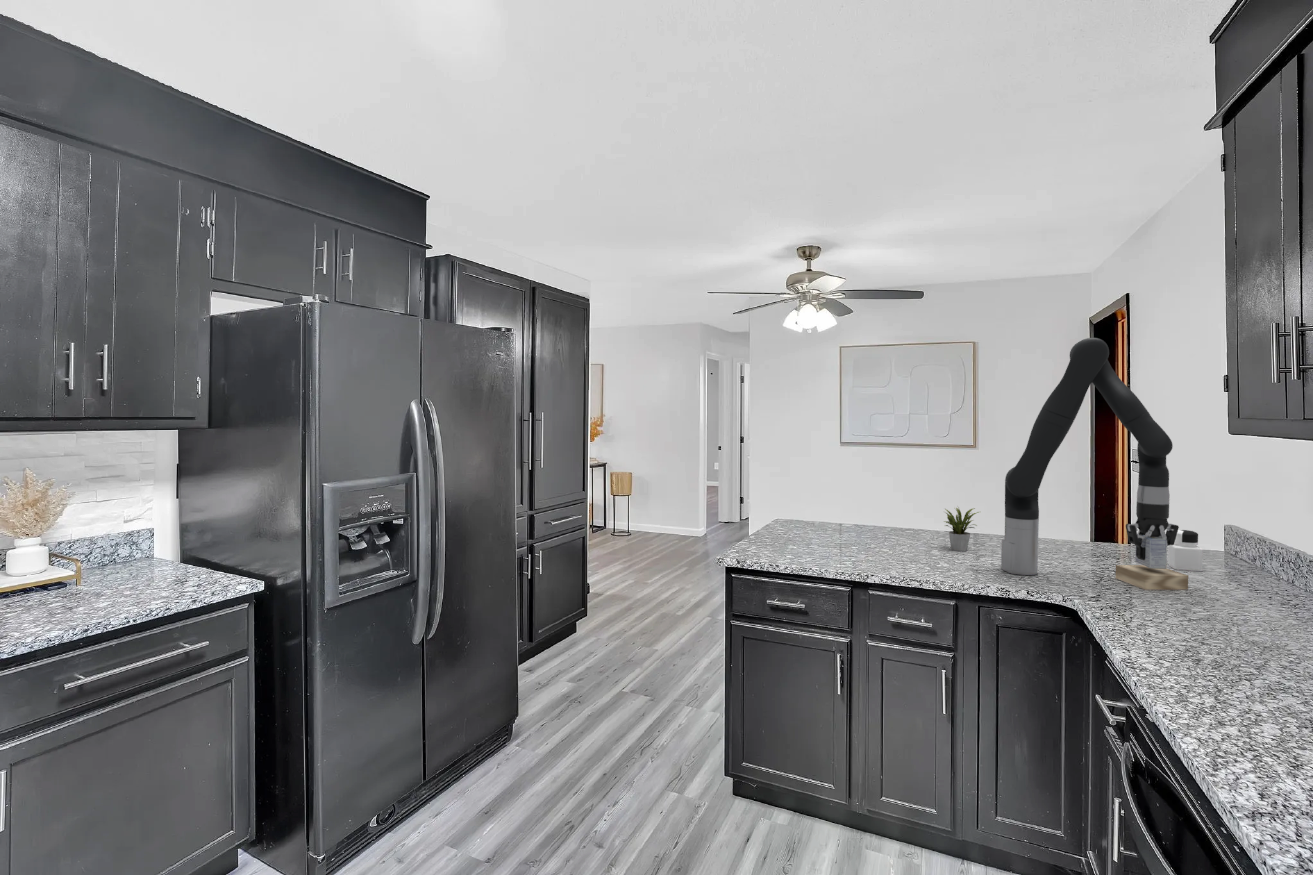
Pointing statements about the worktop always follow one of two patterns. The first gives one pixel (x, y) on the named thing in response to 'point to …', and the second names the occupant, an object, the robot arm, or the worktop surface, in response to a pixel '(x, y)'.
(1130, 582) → the oak base
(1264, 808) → the worktop surface
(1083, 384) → the robot arm
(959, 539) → the house plant
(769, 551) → the worktop surface
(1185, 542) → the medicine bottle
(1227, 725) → the worktop surface
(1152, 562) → the medicine box
